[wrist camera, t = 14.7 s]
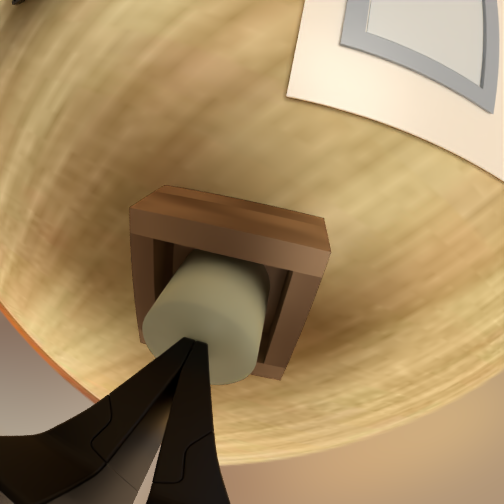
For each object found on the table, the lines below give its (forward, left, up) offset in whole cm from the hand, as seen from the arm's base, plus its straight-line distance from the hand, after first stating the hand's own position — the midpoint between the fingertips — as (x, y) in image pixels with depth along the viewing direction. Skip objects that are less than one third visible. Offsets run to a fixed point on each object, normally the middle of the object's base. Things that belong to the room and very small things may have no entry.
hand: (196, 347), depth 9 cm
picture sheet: (+9, +19, -5) cm, 22 cm away
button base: (0, 0, -5) cm, 5 cm away
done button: (0, 0, -4) cm, 4 cm away
